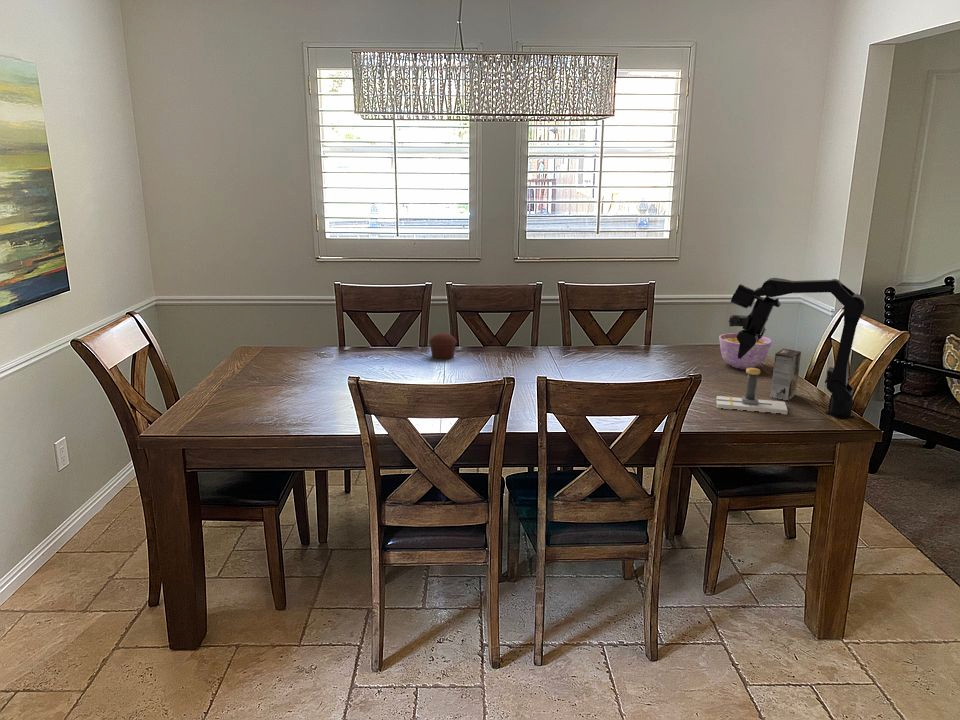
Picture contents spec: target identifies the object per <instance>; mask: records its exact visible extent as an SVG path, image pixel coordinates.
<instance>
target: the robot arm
mask: <svg viewBox="0 0 960 720" xmlns="http://www.w3.org/2000/svg"><path fill="white" fill-rule="evenodd" d="M808 293H809V294H810V293H811V294H812V293H816V294H817V293H830V294H831V295H833V296H834V297H835V299H836V300H838V302H839V303H840V304H841V305H843V328H842V332H841V336H840V341H839V344H838V349H837V354H836V358H835V364H834V366H833V367H831V366H829V367H828V369H827V373H826V378H825V380H824V384H826V389H827V390H828V392H829V393H831V394H830V398H829V403H828V409H827V410H825V411H824V413H825V414H827V415H830V416H831V417H834V418H837V419H846V418H847V419H849V418H855V414H854V413H853V414H852V410H853V402H854V398H853V394H854V391H855V389H854V388H853V386H851V385H850V384H849V382H848V380H849V377H848V376H849V367H848V366H849V360H850V356H851V351H852V347H853V343H854V338H855V334H856V329H857V325H858V323H859V321H860V318H861V317H862V314H863V312H864V310H865V307H866V303H867V301H866V298H865V297H864V296H863V295H861V294H858V293H855V292H854V291H852V289H850V288H849V287H847V286H846V285H845V284H844V283H842V282H841V280H839V279H837V278H832V279H814V280H813V279H812V280H811V279H810V280H809V279H808V280H791V279H787V278H779V277H770V278H768V279H767V280H765V281H764V282H763V283H762V285H761V286H760V287H757V288H756V289H753V288H750V287H747V286H745V285H743V284H742V283H739V285H738V286H737V288H736V289H735V292H734V293H733V295H732V297H731V299H730V303H732V304H733V305H737V306H739V307H741V308H743V309H748V308H749V307H750V308H752V310H751V312H750V313H749V314H747V315H742V314H741V315H740V314H732V315H730V316H729V320H728V323H729V324H728V325H729V327H742V330H739V332H737V333H738V335H737V337H736V338H737V340H738V341H739V343H740V345H739V351H738V358H739V359H741V358H742V357H743V356H744V355H745V354H746V353H747V352H748V351H749V350H750V349H751V348H752V347H753V346H754V345H755V344H756V342H757V341H758V340H759V339H760V338H761V337H762V336H764V335H765V332H766V331H767V330H766V323H767V322H768V321H769V317H770V315H771V312H772V311H773V308H774V307H776V308H780V307H781V305H782V304H781V302H780V298H778V297H781V296H786V295H789V294H808ZM763 296H764V297H763ZM774 298H775V299H774ZM752 306H753V307H752Z"/></svg>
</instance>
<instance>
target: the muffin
mask: <svg viewBox="0 0 960 720" xmlns="http://www.w3.org/2000/svg"><path fill="white" fill-rule="evenodd" d="M428 343H429V345H430V350H431V356H432V358H433V360H434V359H435V360H445V361H446V360H451V359H452V358H454V355H455V350H456V345H457V343H458V341H457V339H456V337H454V336H453V335H452V334H450V333H447V332H438V333H435V334H434V335H432V336H431V338H430V339H429V341H428Z"/></svg>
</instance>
